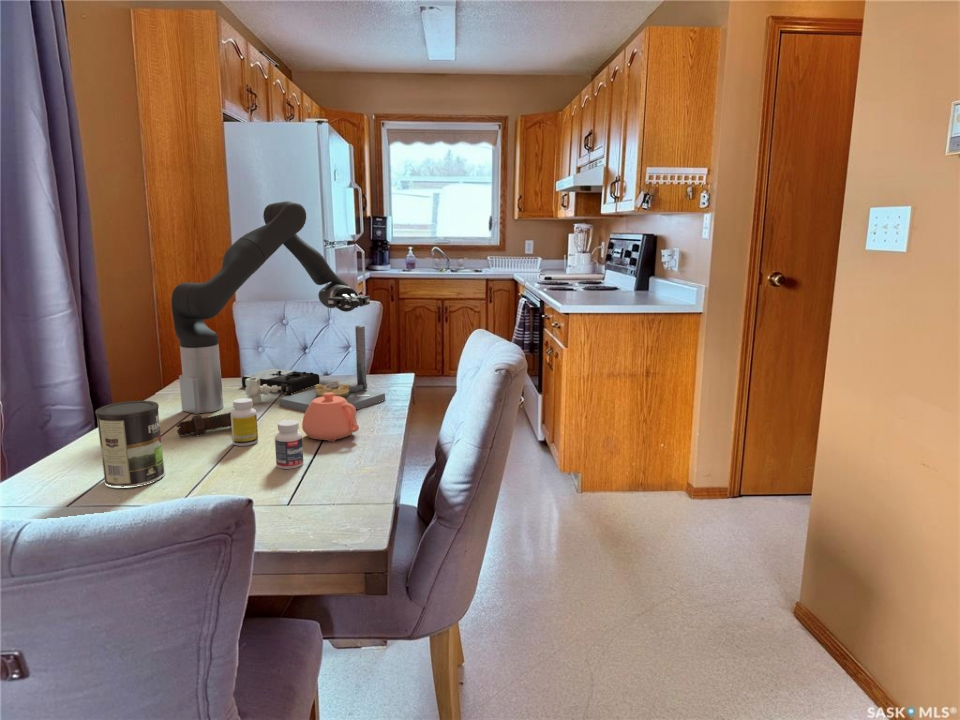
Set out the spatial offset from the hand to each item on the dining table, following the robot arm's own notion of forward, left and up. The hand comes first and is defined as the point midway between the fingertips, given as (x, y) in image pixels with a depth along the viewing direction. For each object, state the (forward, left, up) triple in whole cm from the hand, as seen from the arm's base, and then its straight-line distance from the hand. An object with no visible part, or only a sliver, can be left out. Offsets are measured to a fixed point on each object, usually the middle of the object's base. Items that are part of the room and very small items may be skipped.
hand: (355, 304), depth 182 cm
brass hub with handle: (-10, -4, -24) cm, 26 cm away
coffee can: (-73, -11, -26) cm, 79 cm away
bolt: (-47, +2, -26) cm, 54 cm away
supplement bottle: (-48, -11, -26) cm, 56 cm away
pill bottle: (-52, -30, -26) cm, 66 cm away
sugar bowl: (-34, -24, -26) cm, 49 cm away
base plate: (-13, -3, -26) cm, 29 cm away
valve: (-21, +14, -26) cm, 36 cm away
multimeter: (-7, +25, -26) cm, 37 cm away
